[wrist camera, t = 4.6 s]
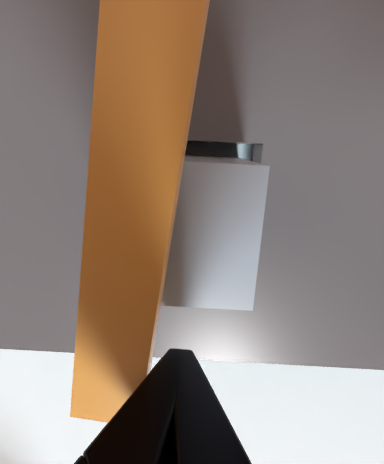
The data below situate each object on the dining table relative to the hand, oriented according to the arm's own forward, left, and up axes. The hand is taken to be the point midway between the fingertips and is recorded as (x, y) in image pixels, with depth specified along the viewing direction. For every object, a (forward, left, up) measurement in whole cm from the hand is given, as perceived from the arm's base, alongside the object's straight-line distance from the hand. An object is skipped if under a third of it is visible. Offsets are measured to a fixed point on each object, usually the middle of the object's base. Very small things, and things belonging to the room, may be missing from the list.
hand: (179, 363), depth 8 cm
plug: (0, -3, -7) cm, 8 cm away
